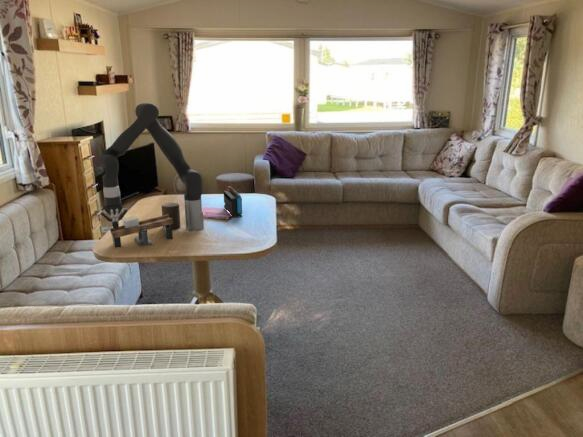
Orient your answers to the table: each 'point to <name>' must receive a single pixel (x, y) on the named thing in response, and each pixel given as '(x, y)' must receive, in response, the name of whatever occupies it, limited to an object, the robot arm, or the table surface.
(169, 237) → the pivot stand
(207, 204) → the table surface
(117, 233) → the walnut beam
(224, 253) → the table surface
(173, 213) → the pillar candle
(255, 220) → the table surface
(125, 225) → the steel weight
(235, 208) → the game console
